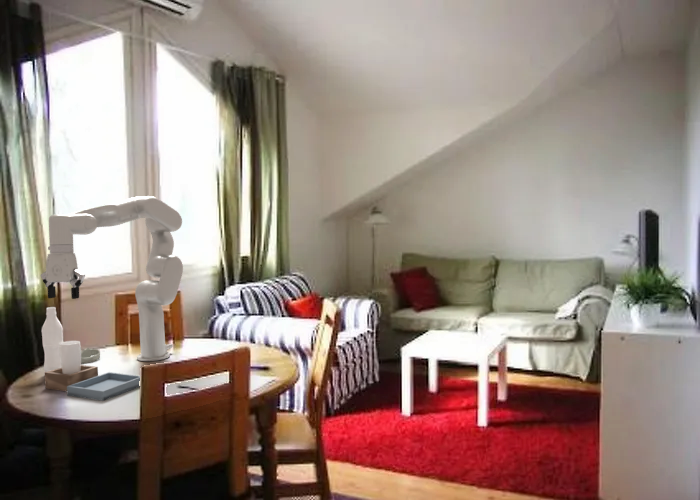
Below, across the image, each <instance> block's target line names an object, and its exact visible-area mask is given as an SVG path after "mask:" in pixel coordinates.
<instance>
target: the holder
mask: <svg viewBox="0 0 700 500" xmlns="http://www.w3.org/2000/svg"><path fill="white" fill-rule="evenodd" d="M98 368H99V367H98V366H93V365H86V364H85V365H84V364H81V371H80V372H76V373H73V374H63V373H62V367H61V368H58V369H55V370H51V371H48V372H45V371H44V382H45V383H44V385H45V386H44V387H45V389H48V390H54V391H62V392H67V386H69V385H72V384H75V383H78V382H81V381H84V380H87V379H90V378H93V377H96V376H99V369H98Z"/></svg>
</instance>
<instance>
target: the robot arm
mask: <svg viewBox="0 0 700 500" xmlns="http://www.w3.org/2000/svg"><path fill="white" fill-rule="evenodd" d="M139 219H140V220H141V219H144V222H145V226H146V228H147V229H148V230H149V232H150V235H151V238H152V243H151V248H150V252H149V255H148V259H147V263H146V267H145V271H146V274H147V275H148V276H149V277H151V278H156V279H159V280H154V279H152V280H151V279H149V280H146V279H145V280H143V281H141V282H139V283H138V284H137V286H136V287H135V290H134V293H135V294H134V295H135V300H136V304H137V308H138V309H137V310H138V323H139V341H140V343H139V344H140V345H139V346H140V354H138V355H137V356H136V360H138V361H141V362H157V361H161V360H165V359H167V358H169V357H170V352H168V350H170V349H172V348H173V347H174V345H173V344H172V343H168V344H166V337H165V335H166V334H165V316H164V315H165V313H164V309H163V307H162V306H168V305H171V304H172V303H173V302H174V301H175V299H176V297H177V295H178V291H179V288H180V283H181V280H182V277H183V272H184V271H183V270H184V266H183V262H182V259H181V258H179V256H176V255H173V251H174V246H175V242H174V241H175V240H174V238H173V234H172V233H173V232H176V231H178V230H179V229H180V228H181V227H182V224H183V218H182V216H181V214H180V213H179V212H178V211H177V210H176V209H175V208H172V207H171V206H170V205H168V204H167V203H166V202H164V201H162V200H161V199H159V198H157V197H155V196H152V195H151V196H149V195H147V196H145V195H143V196H135V197H130V198H126V199H123V200H119V201H116V202H112V203H107V204H104V205H100V206H96V207H91V208H86V209H82V210H78V211H77V210H76V211H74V212H70V213H68V214H63V213H62V214H51V215H50V216H49V217H48V235H49V236H48V237H49V246H48V247H47V250H48V251H49V253H48V254H47V258H46V265H45V271H44V272H42V273H41V274H40V277H41V280H42V282H43V284H45V285H44V286H45V287H46V288H47V298H48V299H53V298H56V297H57V296H56V294H57V292H56V285H55V284H56V283H69V284H70V285H71V289H70V290H71V296H70V297H71V299H72V300H76V299H79V298H80V287H81V285H83V284H84V283H83V282H84V280H85V277H86V274H84V273H83V272H81V271H80V270H79V269H78V268H79V267H78V260H77V256H76V254H75V253H74V235H78V236H79V235H89V234H90V235H91V234H92V233H94V232H95V231H96V229H97V228H106V227H115V226H120V225H123V224H125V223H130V222H132V221H136V220H139ZM171 232H172V233H171Z"/></svg>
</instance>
